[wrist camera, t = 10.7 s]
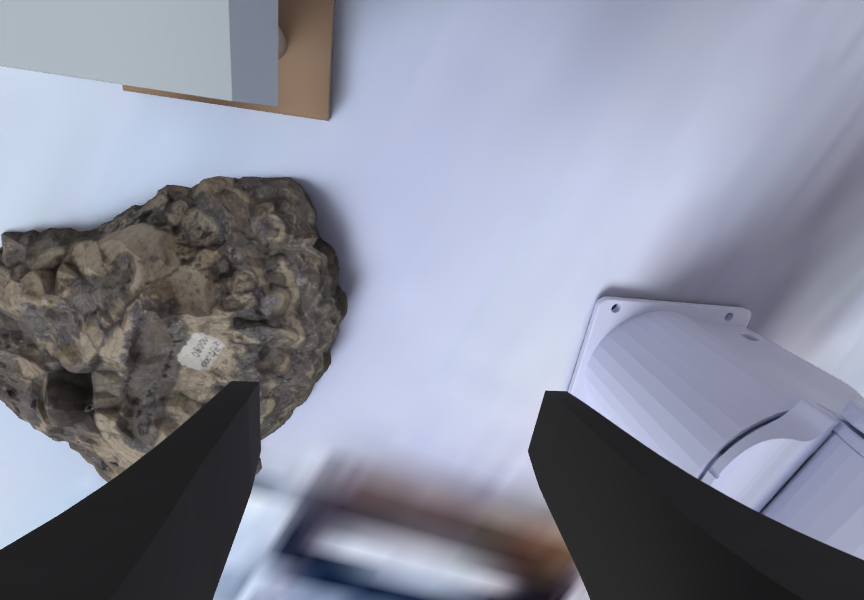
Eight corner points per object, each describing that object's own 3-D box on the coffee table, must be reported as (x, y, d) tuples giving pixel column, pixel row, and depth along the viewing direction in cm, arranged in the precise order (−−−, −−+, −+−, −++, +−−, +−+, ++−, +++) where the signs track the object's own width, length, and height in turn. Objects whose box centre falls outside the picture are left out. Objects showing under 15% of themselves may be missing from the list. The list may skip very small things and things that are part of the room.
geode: (-72, 418, 20) (236, 508, 25) (-165, 481, 16) (216, 572, 21) (51, 35, 15) (403, 241, 20) (-44, 8, 12) (412, 266, 17)
